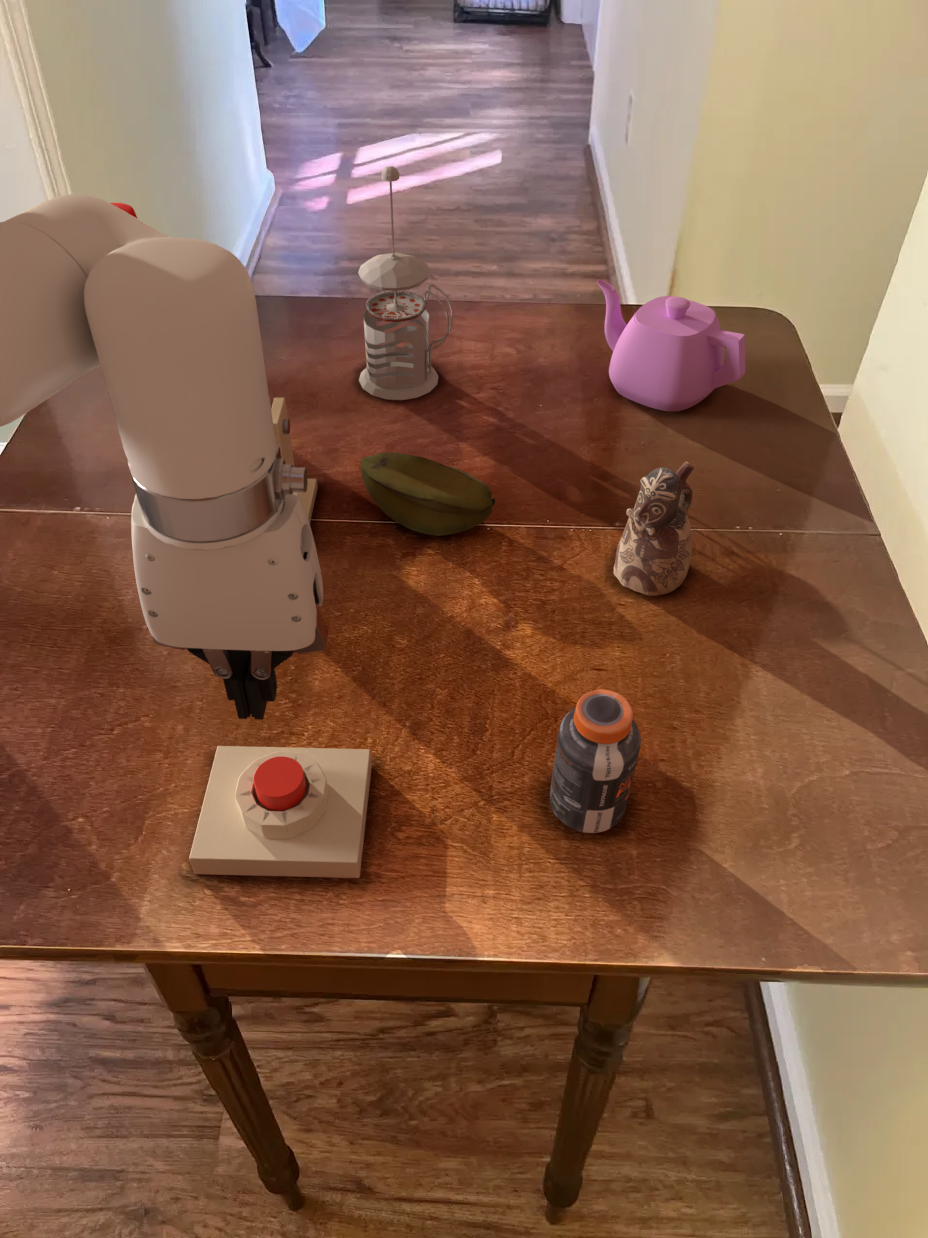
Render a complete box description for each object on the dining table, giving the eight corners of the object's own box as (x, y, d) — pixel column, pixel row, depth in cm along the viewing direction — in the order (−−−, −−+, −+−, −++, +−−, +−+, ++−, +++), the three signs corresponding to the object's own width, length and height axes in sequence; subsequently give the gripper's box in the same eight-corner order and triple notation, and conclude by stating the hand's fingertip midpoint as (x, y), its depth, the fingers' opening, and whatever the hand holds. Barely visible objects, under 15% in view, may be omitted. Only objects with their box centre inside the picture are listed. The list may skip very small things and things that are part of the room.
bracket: (304, 549, 94) (289, 441, 85) (224, 547, 94) (200, 439, 85) (317, 487, 101) (304, 381, 92) (242, 486, 101) (222, 380, 92)
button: (252, 810, 69) (249, 796, 67) (261, 769, 71) (258, 755, 70) (302, 811, 69) (299, 797, 67) (309, 770, 71) (306, 756, 70)
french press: (374, 352, 121) (361, 145, 103) (462, 366, 119) (464, 157, 101) (347, 392, 114) (328, 178, 97) (439, 408, 112) (437, 191, 95)
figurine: (599, 557, 94) (614, 457, 85) (660, 539, 96) (681, 439, 87) (637, 604, 89) (657, 503, 81) (701, 583, 91) (727, 482, 83)
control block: (194, 874, 69) (183, 845, 66) (222, 762, 76) (213, 731, 73) (359, 878, 69) (355, 849, 66) (371, 765, 76) (368, 734, 73)
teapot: (612, 338, 124) (623, 255, 116) (756, 386, 116) (778, 301, 108) (560, 382, 117) (567, 296, 109) (709, 437, 109) (730, 349, 101)
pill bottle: (623, 841, 71) (645, 750, 63) (544, 829, 72) (556, 737, 64) (627, 777, 75) (649, 683, 67) (553, 765, 76) (565, 671, 68)
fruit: (394, 562, 93) (391, 509, 88) (358, 492, 101) (353, 440, 96) (501, 536, 96) (504, 483, 91) (458, 469, 104) (458, 418, 99)
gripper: (356, 447, 53) (371, 665, 66) (90, 438, 53) (157, 657, 66) (341, 534, 48) (360, 752, 61) (46, 524, 48) (128, 744, 61)
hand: (255, 702), depth 64 cm, fingers closed
